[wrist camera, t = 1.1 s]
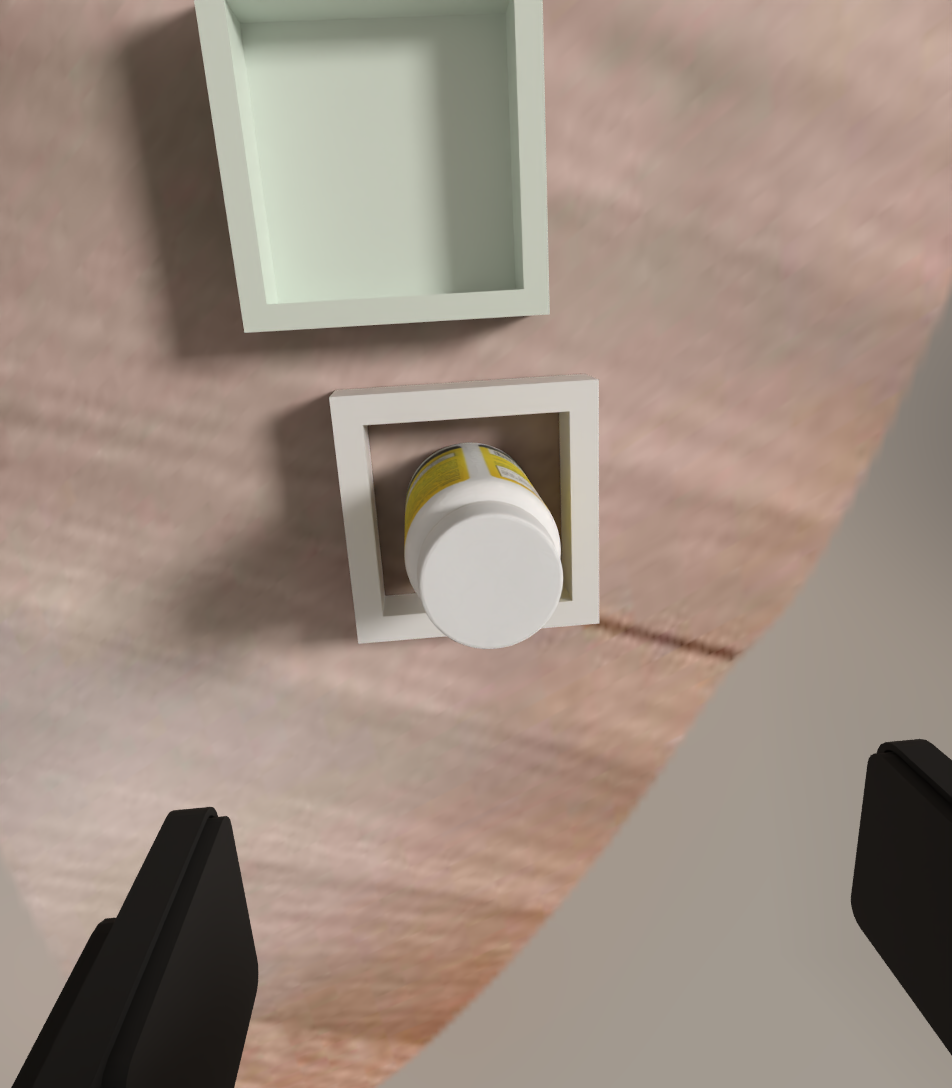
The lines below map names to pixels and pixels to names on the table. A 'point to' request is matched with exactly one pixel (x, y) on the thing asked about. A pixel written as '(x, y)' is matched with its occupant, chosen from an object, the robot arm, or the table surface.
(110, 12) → the table surface
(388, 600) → the collar holder
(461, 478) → the supplement bottle
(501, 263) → the tray
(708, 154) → the table surface
